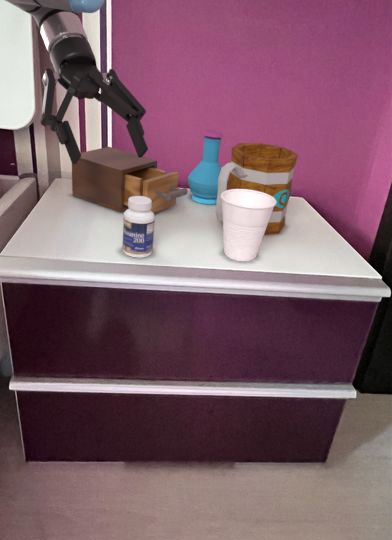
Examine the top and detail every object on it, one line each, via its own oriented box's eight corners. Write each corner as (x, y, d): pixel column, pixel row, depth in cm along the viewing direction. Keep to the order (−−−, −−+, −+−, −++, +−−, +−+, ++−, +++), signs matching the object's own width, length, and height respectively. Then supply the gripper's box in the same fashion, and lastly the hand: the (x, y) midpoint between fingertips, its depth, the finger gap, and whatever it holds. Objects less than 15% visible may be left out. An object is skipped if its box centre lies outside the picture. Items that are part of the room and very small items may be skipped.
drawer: (192, 209, 120) (195, 177, 117) (162, 221, 113) (164, 187, 109) (131, 189, 127) (132, 158, 124) (99, 199, 120) (99, 167, 116)
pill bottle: (117, 253, 100) (118, 200, 95) (131, 243, 104) (133, 192, 99) (144, 261, 98) (147, 207, 93) (157, 250, 103) (161, 198, 97)
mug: (248, 208, 128) (259, 139, 120) (297, 227, 121) (312, 155, 112) (189, 225, 115) (196, 150, 107) (239, 247, 108) (251, 169, 100)
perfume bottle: (209, 191, 135) (216, 125, 127) (233, 203, 130) (243, 135, 121) (178, 195, 130) (183, 127, 122) (201, 208, 125) (209, 138, 116)
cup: (227, 268, 99) (235, 208, 93) (205, 246, 107) (212, 189, 101) (275, 264, 103) (287, 206, 97) (251, 243, 110) (260, 187, 104)
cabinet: (155, 200, 126) (157, 160, 121) (120, 212, 117) (121, 170, 112) (108, 185, 131) (108, 146, 127) (72, 195, 123) (71, 154, 118)
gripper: (120, 63, 111) (159, 161, 110) (-4, 62, 97) (39, 174, 96) (136, 36, 105) (177, 140, 103) (6, 30, 91) (52, 150, 89)
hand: (111, 156), depth 100 cm, fingers open, 13 cm apart
